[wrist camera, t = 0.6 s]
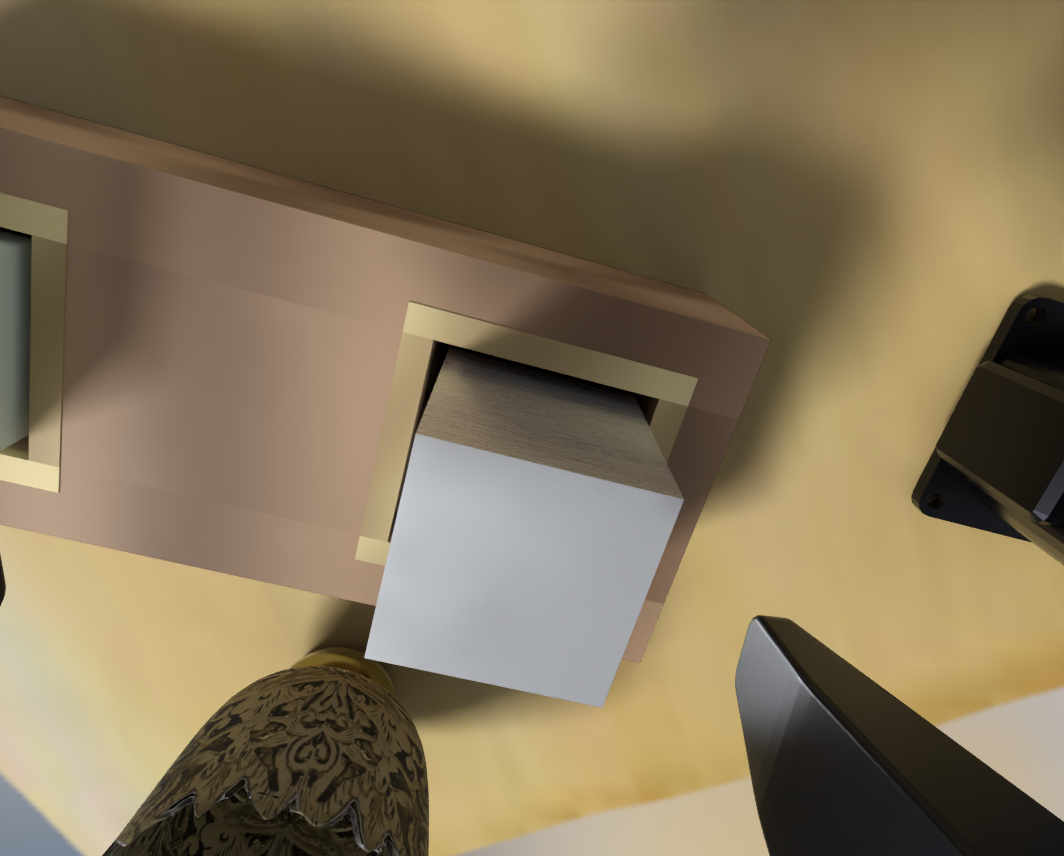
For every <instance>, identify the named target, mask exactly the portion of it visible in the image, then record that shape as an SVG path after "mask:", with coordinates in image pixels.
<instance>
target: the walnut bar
mask: <svg viewBox="0 0 1064 856" xmlns="http://www.w3.org/2000/svg"><path fill="white" fill-rule="evenodd" d="M0 227H3V228H7V229H11V230H14V231H18V232H22V233H26V234H30V235H32V255H31V324H30V394H29V435H28V436H26V437H25V438H23V439H21V440H19V441H17V442H16V443H14V444H12V445H10V446H8V447H7V448H5V449H3V450H1V451H0V525H4V526H9V527H13V528H18V529H23V530H27V531H32V532H37V533H41V534H46V535H50V536H55V537H60V538H64V539H69V540H73V541H78V542H83V543H87V544H92V545H96V546H101V547H106V548H110V549H115V550H120V551H124V552H129V553H133V554H138V555H143V556H147V557H152V558H156V559H161V560H166V561H170V562H175V563H179V564H184V565H189V566H193V567H198V568H203V569H207V570H212V571H216V572H221V573H226V574H230V575H235V576H239V577H244V578H249V579H253V580H258V581H262V582H267V583H272V584H276V585H281V586H286V587H290V588H295V589H299V590H304V591H309V592H313V593H318V594H322V595H327V596H332V597H336V598H341V599H346V600H350V601H355V602H359V603H364V604H369V605H373V606H376V604H377V600H378V595H379V591H380V587H381V582H382V578H383V574H384V569H385V565H386V560H387V556H388V552H389V547H390V543H391V539H392V534H393V530H394V526H395V521H396V517H397V513H398V508H399V504H400V499H401V495H402V491H403V486H404V482H405V478H406V473H407V469H408V465H409V460H410V456H411V452H412V447H413V443H414V438H415V434H416V431H417V429H418V426H419V424H420V421H421V419H422V416H423V414H424V411H425V409H426V406H427V403H428V401H429V398H430V396H431V393H432V391H433V388H434V386H435V383H436V380H437V375H438V371H439V367H440V363H441V358H442V354H443V350H444V346H445V343H447V344H451V345H455V346H459V347H462V348H466V349H470V350H474V351H478V352H482V353H485V354H489V355H493V356H497V357H501V358H505V359H508V360H512V361H516V362H520V363H524V364H528V365H531V366H535V367H539V368H543V369H547V370H551V371H554V372H558V373H562V374H566V375H570V376H574V377H577V378H581V379H585V380H589V381H593V382H596V383H600V384H604V385H608V386H609V388H608V389H610V390H613V391H617V392H621V393H625V394H629V395H633V396H635V399H636V401H637V403H638V405H639V407H640V409H641V411H642V413H643V415H644V417H645V419H646V421H647V423H648V426H649V428H650V430H651V432H652V434H653V436H654V438H655V440H656V442H657V444H658V446H659V448H660V450H661V453H662V455H663V457H664V459H665V461H666V463H667V465H668V467H669V469H670V471H671V473H672V475H673V477H674V480H675V482H676V484H677V486H678V488H679V490H680V492H681V494H682V496H683V498H684V501H683V504H682V506H681V509H680V511H679V514H678V516H677V519H676V522H675V524H674V527H673V529H672V532H671V534H670V537H669V539H668V542H667V544H666V547H665V549H664V552H663V555H662V557H661V560H660V562H659V565H658V567H657V570H656V572H655V575H654V577H653V580H652V583H651V585H650V588H649V590H648V593H647V595H646V598H645V600H644V603H643V605H642V608H641V610H640V613H639V616H638V618H637V621H636V623H635V626H634V628H633V631H632V633H631V636H630V638H629V641H628V644H627V646H626V649H625V651H624V654H623V656H622V660H627V661H631V662H636V663H640V661H641V659H642V656H643V654H644V651H645V649H646V646H647V644H648V641H649V639H650V636H651V634H652V631H653V629H654V627H655V624H656V622H657V619H658V617H659V614H660V612H661V609H662V607H663V604H664V602H665V599H666V597H667V595H668V592H669V590H670V587H671V585H672V582H673V580H674V577H675V575H676V572H677V570H678V567H679V565H680V563H681V560H682V558H683V555H684V553H685V550H686V548H687V545H688V543H689V540H690V538H691V535H692V533H693V531H694V528H695V526H696V523H697V521H698V518H699V516H700V513H701V511H702V508H703V506H704V503H705V501H706V498H707V496H708V494H709V491H710V489H711V486H712V484H713V481H714V479H715V476H716V474H717V471H718V469H719V466H720V464H721V462H722V459H723V457H724V454H725V452H726V449H727V447H728V444H729V442H730V439H731V437H732V434H733V432H734V430H735V427H736V425H737V422H738V420H739V417H740V415H741V412H742V410H743V407H744V405H745V402H746V400H747V398H748V395H749V393H750V390H751V388H752V385H753V383H754V380H755V378H756V375H757V373H758V370H759V368H760V366H761V363H762V361H763V358H764V356H765V353H766V351H767V348H768V346H769V343H770V341H771V339H769V338H768V337H766V336H765V335H763V334H762V333H761V332H759V331H758V330H756V329H755V328H754V327H752V326H751V325H749V324H748V323H747V322H745V321H744V320H742V319H741V318H740V317H738V316H737V315H735V314H734V313H732V312H731V311H730V310H728V309H727V308H725V307H724V306H723V305H721V304H720V303H718V302H717V301H716V300H714V299H713V298H711V297H710V296H709V295H707V294H705V293H701V292H698V291H694V290H690V289H687V288H683V287H680V286H676V285H673V284H669V283H666V282H662V281H658V280H655V279H651V278H648V277H644V276H641V275H637V274H633V273H630V272H626V271H623V270H619V269H616V268H612V267H609V266H605V265H601V264H598V263H594V262H591V261H587V260H584V259H580V258H576V257H573V256H569V255H566V254H562V253H559V252H555V251H552V250H548V249H544V248H541V247H537V246H534V245H530V244H527V243H523V242H519V241H516V240H512V239H509V238H505V237H502V236H498V235H495V234H491V233H487V232H484V231H480V230H477V229H473V228H470V227H466V226H462V225H459V224H455V223H452V222H448V221H445V220H441V219H438V218H434V217H430V216H427V215H423V214H420V213H416V212H413V211H409V210H405V209H402V208H398V207H395V206H391V205H388V204H384V203H380V202H377V201H373V200H370V199H366V198H363V197H359V196H356V195H352V194H348V193H345V192H341V191H338V190H334V189H331V188H327V187H323V186H320V185H316V184H313V183H309V182H306V181H302V180H299V179H295V178H291V177H288V176H284V175H281V174H277V173H274V172H270V171H266V170H263V169H259V168H256V167H252V166H249V165H245V164H242V163H238V162H234V161H231V160H227V159H224V158H220V157H217V156H213V155H209V154H206V153H202V152H199V151H195V150H192V149H188V148H185V147H181V146H177V145H174V144H170V143H167V142H163V141H160V140H156V139H152V138H149V137H145V136H142V135H138V134H135V133H131V132H128V131H124V130H120V129H117V128H113V127H110V126H106V125H103V124H99V123H95V122H92V121H88V120H85V119H81V118H78V117H74V116H71V115H67V114H63V113H60V112H56V111H53V110H49V109H46V108H42V107H38V106H35V105H31V104H28V103H24V102H21V101H17V100H14V99H10V98H6V97H3V96H0Z"/></svg>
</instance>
